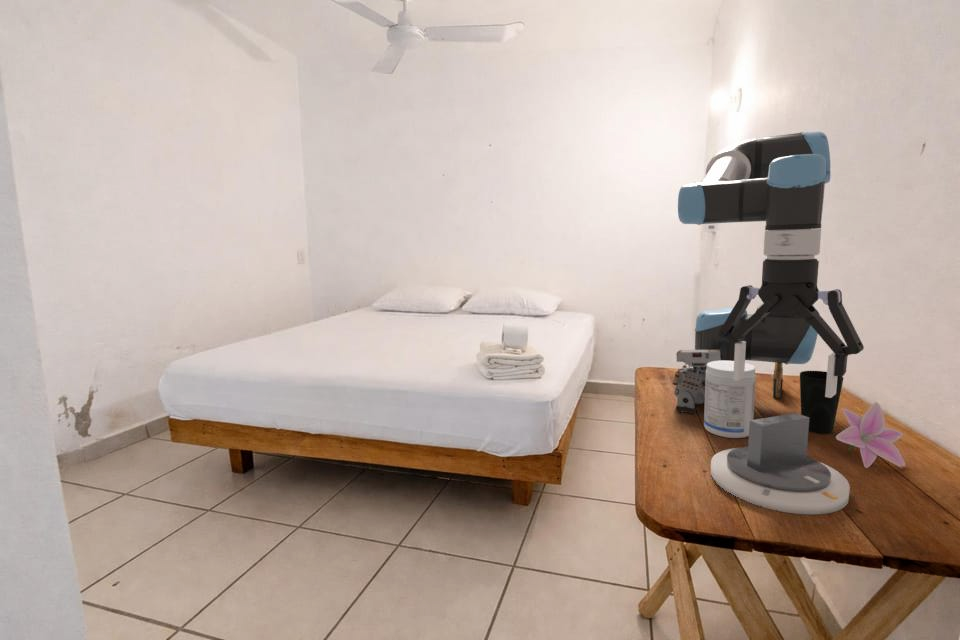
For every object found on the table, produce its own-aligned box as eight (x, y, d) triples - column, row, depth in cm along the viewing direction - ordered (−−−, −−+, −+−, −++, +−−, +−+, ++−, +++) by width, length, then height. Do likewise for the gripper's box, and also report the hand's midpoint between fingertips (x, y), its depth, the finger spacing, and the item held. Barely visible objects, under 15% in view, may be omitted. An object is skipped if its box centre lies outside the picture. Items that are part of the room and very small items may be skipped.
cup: (797, 432, 104) (801, 377, 103) (794, 420, 111) (797, 369, 109) (841, 438, 101) (846, 381, 99) (835, 425, 108) (840, 372, 106)
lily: (820, 465, 92) (848, 432, 86) (815, 422, 100) (841, 390, 94) (893, 493, 88) (928, 460, 82) (882, 446, 97) (913, 414, 91)
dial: (707, 458, 88) (709, 410, 87) (772, 446, 92) (775, 400, 91) (780, 499, 74) (784, 442, 72) (853, 482, 78) (858, 428, 77)
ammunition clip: (772, 387, 136) (775, 345, 134) (780, 388, 135) (783, 345, 133) (773, 398, 127) (776, 352, 125) (781, 399, 126) (784, 353, 124)
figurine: (720, 419, 113) (723, 356, 111) (669, 410, 120) (670, 350, 118) (727, 408, 121) (730, 348, 118) (679, 400, 127) (681, 343, 125)
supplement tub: (721, 420, 113) (724, 357, 110) (762, 433, 104) (766, 366, 102) (693, 429, 108) (696, 364, 106) (734, 443, 100) (737, 373, 98)
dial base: (726, 448, 97) (726, 438, 97) (851, 476, 85) (853, 464, 84) (696, 488, 82) (696, 476, 82) (844, 529, 70) (845, 515, 69)
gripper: (701, 258, 85) (696, 377, 88) (885, 259, 66) (870, 410, 69) (720, 256, 89) (715, 368, 93) (897, 256, 71) (882, 397, 74)
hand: (781, 386), depth 81 cm, fingers open, 13 cm apart
